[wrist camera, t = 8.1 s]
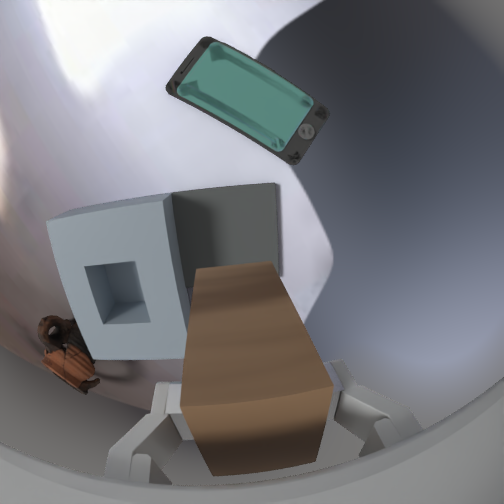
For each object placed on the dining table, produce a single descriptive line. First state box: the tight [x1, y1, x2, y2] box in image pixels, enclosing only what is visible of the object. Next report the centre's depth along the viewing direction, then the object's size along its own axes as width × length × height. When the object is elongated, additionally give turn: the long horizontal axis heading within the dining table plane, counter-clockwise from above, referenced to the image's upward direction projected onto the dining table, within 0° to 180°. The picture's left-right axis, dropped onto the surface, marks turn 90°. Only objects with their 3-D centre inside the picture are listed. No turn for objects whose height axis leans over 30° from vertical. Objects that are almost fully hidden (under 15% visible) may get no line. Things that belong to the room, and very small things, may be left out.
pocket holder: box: [46, 193, 191, 360], centre depth 25 cm, size 16×12×5 cm
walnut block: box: [180, 261, 334, 476], centre depth 11 cm, size 5×4×9 cm
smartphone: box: [166, 37, 330, 165], centre depth 23 cm, size 7×1×15 cm
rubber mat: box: [171, 183, 279, 288], centre depth 27 cm, size 10×10×1 cm
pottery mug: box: [38, 315, 100, 395], centre depth 27 cm, size 12×10×8 cm
